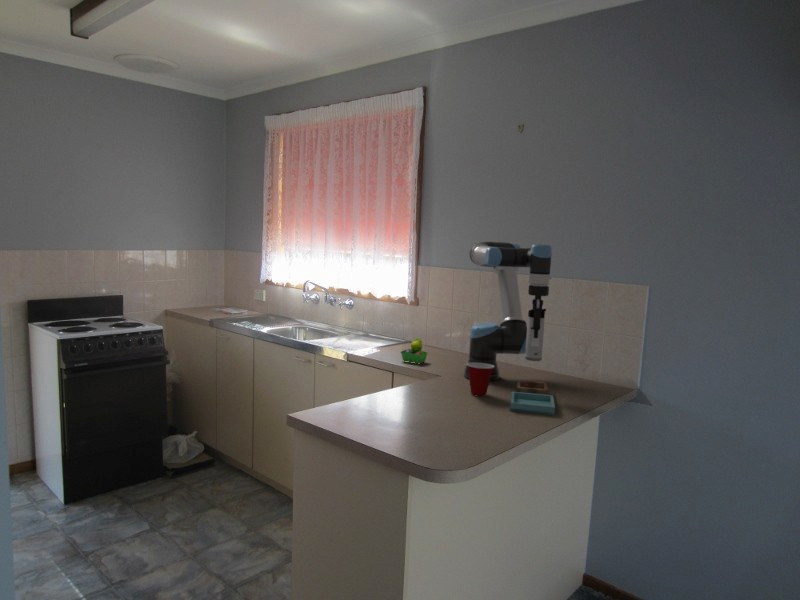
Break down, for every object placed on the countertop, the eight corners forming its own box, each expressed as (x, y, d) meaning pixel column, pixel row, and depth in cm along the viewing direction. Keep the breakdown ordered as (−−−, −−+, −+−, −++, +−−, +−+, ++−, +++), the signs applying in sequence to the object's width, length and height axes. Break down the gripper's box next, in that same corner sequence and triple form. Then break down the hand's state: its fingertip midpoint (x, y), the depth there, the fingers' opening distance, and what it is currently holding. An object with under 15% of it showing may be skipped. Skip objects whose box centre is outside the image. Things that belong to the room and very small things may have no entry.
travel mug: (539, 362, 214) (543, 310, 212) (522, 359, 218) (526, 308, 215) (544, 359, 220) (548, 308, 217) (528, 356, 223) (531, 306, 220)
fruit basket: (399, 362, 268) (400, 338, 266) (409, 358, 275) (409, 336, 274) (420, 365, 262) (421, 341, 260) (429, 362, 269) (430, 339, 268)
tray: (510, 411, 199) (510, 402, 199) (511, 399, 214) (511, 391, 213) (554, 415, 196) (554, 407, 195) (552, 403, 210) (552, 395, 210)
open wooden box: (516, 397, 216) (516, 387, 215) (516, 389, 227) (517, 380, 227) (547, 400, 213) (548, 390, 213) (546, 392, 225) (546, 382, 224)
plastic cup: (496, 392, 221) (497, 363, 220) (488, 399, 212) (490, 368, 210) (469, 388, 226) (471, 359, 224) (460, 395, 216) (462, 364, 215)
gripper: (550, 288, 205) (545, 350, 208) (548, 283, 224) (544, 340, 227) (529, 286, 207) (524, 348, 209) (528, 282, 225) (524, 339, 228)
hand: (534, 344), depth 218 cm, fingers closed on travel mug, 6 cm apart
